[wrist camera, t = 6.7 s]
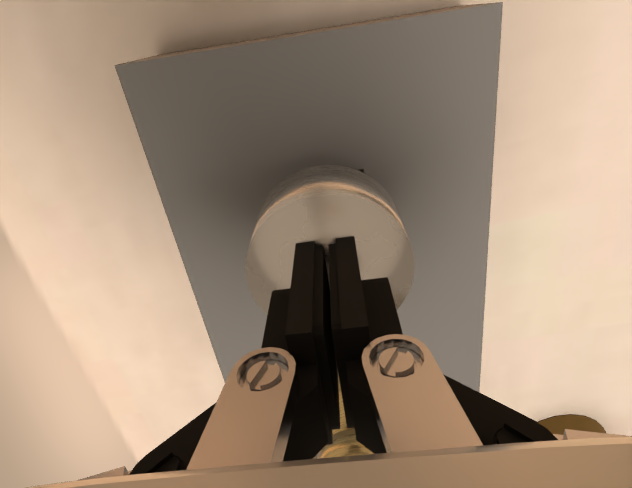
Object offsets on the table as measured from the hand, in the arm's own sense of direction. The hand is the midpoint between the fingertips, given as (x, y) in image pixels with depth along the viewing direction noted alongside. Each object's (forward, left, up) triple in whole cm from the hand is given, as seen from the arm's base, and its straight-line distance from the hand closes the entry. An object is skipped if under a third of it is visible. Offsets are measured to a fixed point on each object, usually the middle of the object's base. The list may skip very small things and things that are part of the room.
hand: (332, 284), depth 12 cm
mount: (+7, 0, -8) cm, 11 cm away
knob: (0, 0, -6) cm, 6 cm away
